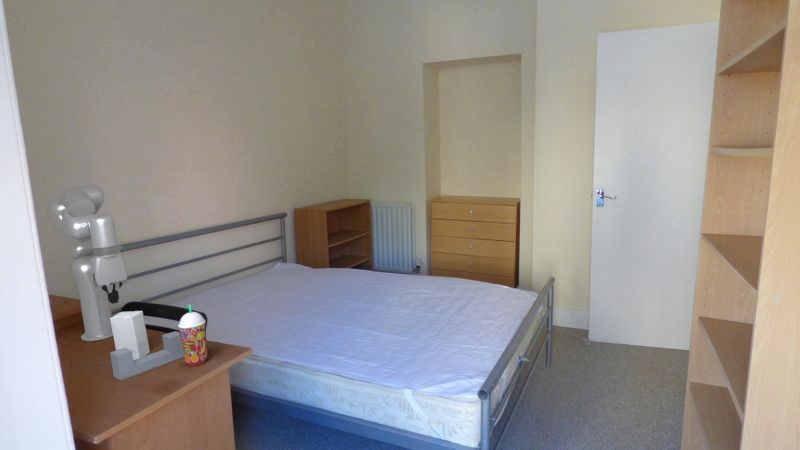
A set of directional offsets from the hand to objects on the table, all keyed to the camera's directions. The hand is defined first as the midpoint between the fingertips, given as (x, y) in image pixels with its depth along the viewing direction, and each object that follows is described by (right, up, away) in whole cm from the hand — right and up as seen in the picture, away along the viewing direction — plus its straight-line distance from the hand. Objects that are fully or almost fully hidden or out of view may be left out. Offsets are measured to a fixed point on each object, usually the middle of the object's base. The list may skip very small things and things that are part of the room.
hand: (114, 302), depth 177 cm
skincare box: (+8, -19, -3) cm, 21 cm away
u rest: (+18, -19, -11) cm, 29 cm away
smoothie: (+33, -18, -11) cm, 39 cm away
